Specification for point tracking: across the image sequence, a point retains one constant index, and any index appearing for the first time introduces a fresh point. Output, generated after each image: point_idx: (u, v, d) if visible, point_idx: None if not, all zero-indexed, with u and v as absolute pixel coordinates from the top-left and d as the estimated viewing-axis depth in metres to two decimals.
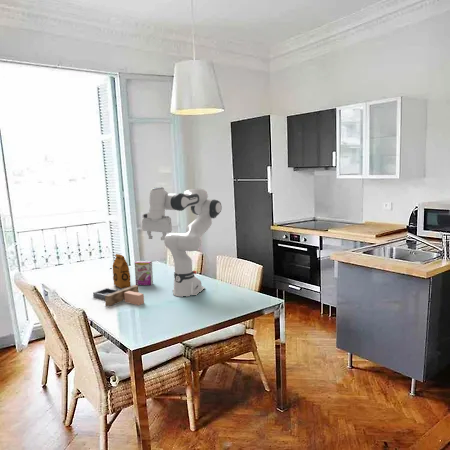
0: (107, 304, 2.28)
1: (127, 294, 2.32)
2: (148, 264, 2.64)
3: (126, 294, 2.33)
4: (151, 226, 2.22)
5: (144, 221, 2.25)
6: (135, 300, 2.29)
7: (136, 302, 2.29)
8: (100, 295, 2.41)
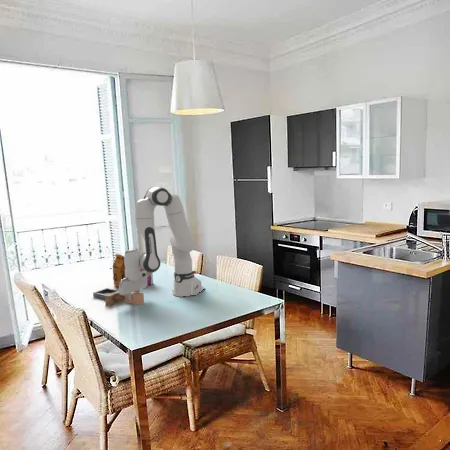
0: (107, 304, 2.28)
1: None
2: None
3: (126, 294, 2.33)
4: None
5: None
6: (135, 300, 2.29)
7: (136, 302, 2.29)
8: (100, 295, 2.41)
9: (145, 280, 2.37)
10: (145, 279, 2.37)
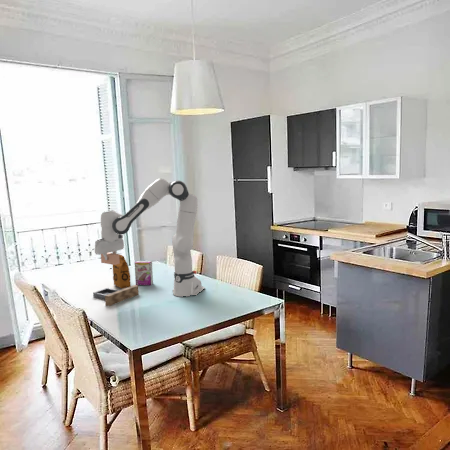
0: (107, 304, 2.28)
1: None
2: (148, 264, 2.64)
3: (102, 254, 2.39)
4: None
5: None
6: (111, 260, 2.36)
7: (112, 262, 2.36)
8: (100, 295, 2.41)
9: (121, 242, 2.44)
10: (121, 241, 2.43)
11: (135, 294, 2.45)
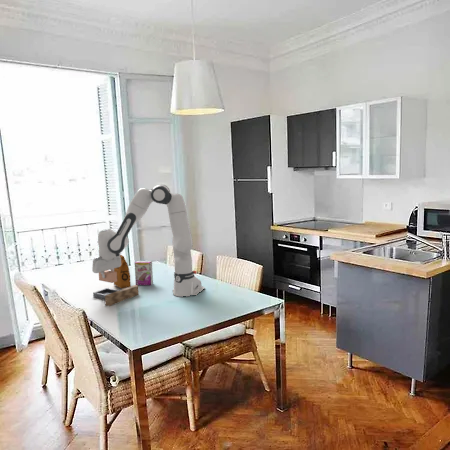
0: (107, 304, 2.28)
1: None
2: (148, 264, 2.64)
3: (100, 272, 2.43)
4: None
5: None
6: (109, 278, 2.39)
7: (109, 280, 2.39)
8: (100, 295, 2.41)
9: (119, 260, 2.47)
10: (119, 259, 2.47)
11: (135, 294, 2.45)
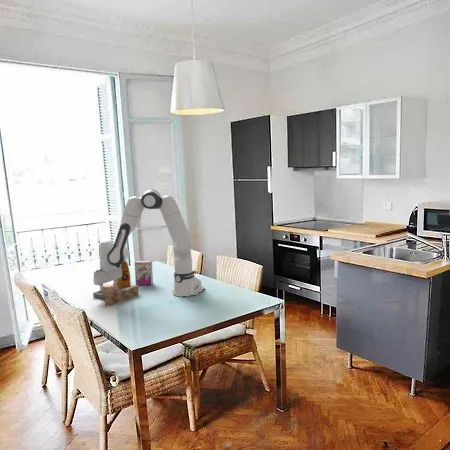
0: (107, 304, 2.28)
1: None
2: (148, 264, 2.64)
3: None
4: None
5: None
6: (110, 292, 2.41)
7: None
8: (100, 295, 2.41)
9: (120, 271, 2.48)
10: (120, 270, 2.48)
11: (135, 294, 2.45)
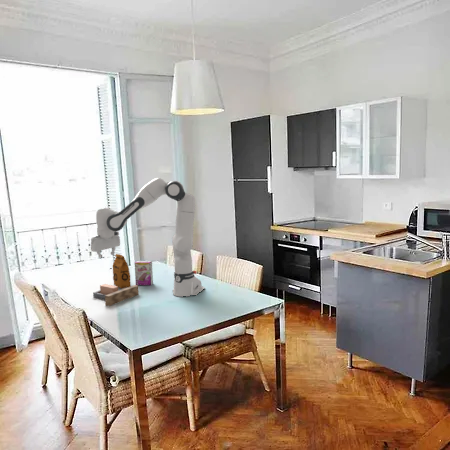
0: (107, 304, 2.28)
1: (102, 287, 2.44)
2: (148, 264, 2.64)
3: (101, 287, 2.44)
4: None
5: None
6: (110, 292, 2.41)
7: None
8: (100, 295, 2.41)
9: (118, 239, 2.45)
10: (117, 238, 2.45)
11: (135, 294, 2.45)
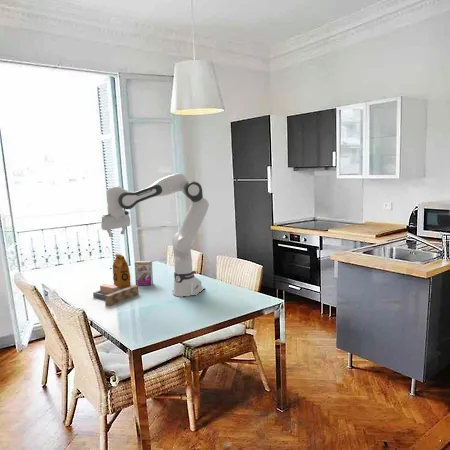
0: (107, 304, 2.28)
1: (102, 287, 2.44)
2: (148, 264, 2.64)
3: (101, 287, 2.44)
4: None
5: None
6: (110, 292, 2.41)
7: None
8: (100, 295, 2.41)
9: (128, 219, 2.44)
10: (128, 218, 2.43)
11: (135, 294, 2.45)
